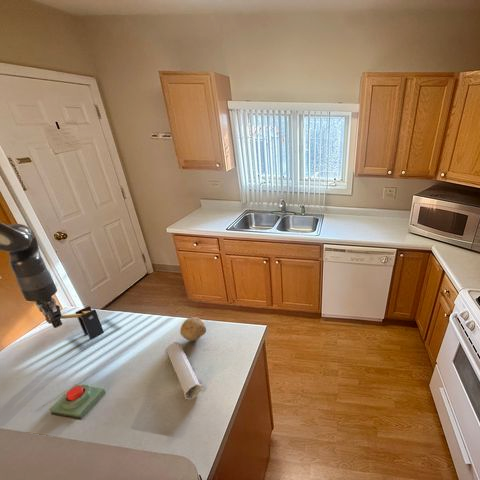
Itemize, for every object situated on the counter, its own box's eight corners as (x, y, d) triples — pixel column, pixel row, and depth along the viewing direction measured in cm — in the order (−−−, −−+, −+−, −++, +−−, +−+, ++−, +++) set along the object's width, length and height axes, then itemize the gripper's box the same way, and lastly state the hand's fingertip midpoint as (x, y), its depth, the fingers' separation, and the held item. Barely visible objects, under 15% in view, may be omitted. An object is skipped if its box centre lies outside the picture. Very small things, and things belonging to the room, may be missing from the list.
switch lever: (46, 324, 87) (50, 315, 87) (42, 321, 88) (45, 311, 89) (92, 320, 99) (94, 311, 99) (87, 317, 100) (90, 308, 101)
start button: (64, 400, 76) (62, 396, 75) (76, 388, 79) (74, 385, 78) (75, 401, 75) (73, 398, 75) (87, 390, 79) (85, 386, 78)
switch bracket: (83, 351, 96) (72, 325, 91) (70, 341, 100) (59, 315, 95) (118, 331, 106) (110, 306, 101) (105, 323, 110) (96, 298, 105)
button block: (51, 413, 75) (46, 404, 74) (78, 388, 83) (74, 380, 81) (81, 419, 74) (77, 410, 73) (106, 393, 82) (102, 384, 80)
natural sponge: (178, 338, 104) (174, 318, 100) (200, 327, 110) (196, 308, 106) (187, 350, 99) (183, 330, 95) (209, 338, 105) (206, 319, 101)
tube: (161, 346, 95) (181, 395, 78) (175, 336, 98) (197, 381, 81) (169, 353, 98) (189, 402, 81) (182, 344, 101) (205, 389, 84)
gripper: (11, 282, 83) (32, 323, 90) (29, 296, 78) (50, 338, 85) (42, 272, 90) (60, 311, 96) (61, 284, 84) (78, 324, 91)
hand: (55, 324), depth 90 cm, fingers closed on switch lever, 3 cm apart
